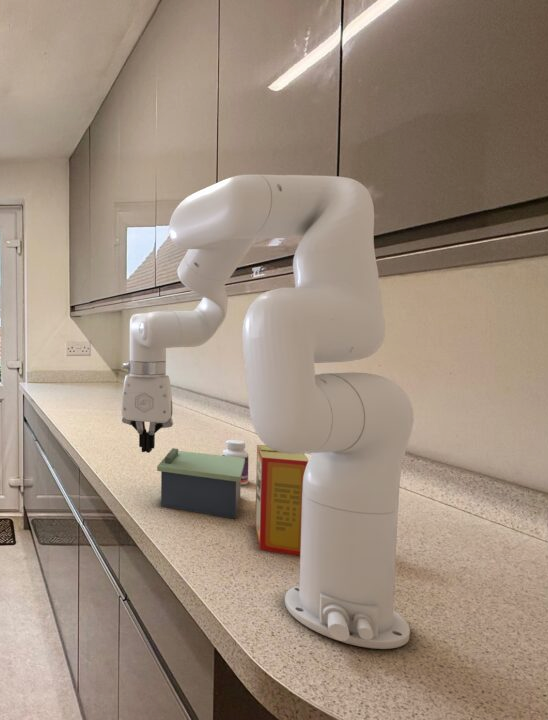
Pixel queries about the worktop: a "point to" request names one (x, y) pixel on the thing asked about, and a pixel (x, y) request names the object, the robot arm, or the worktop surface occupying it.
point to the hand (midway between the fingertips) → (146, 450)
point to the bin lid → (202, 465)
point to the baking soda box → (279, 500)
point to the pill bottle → (237, 450)
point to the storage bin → (200, 494)
